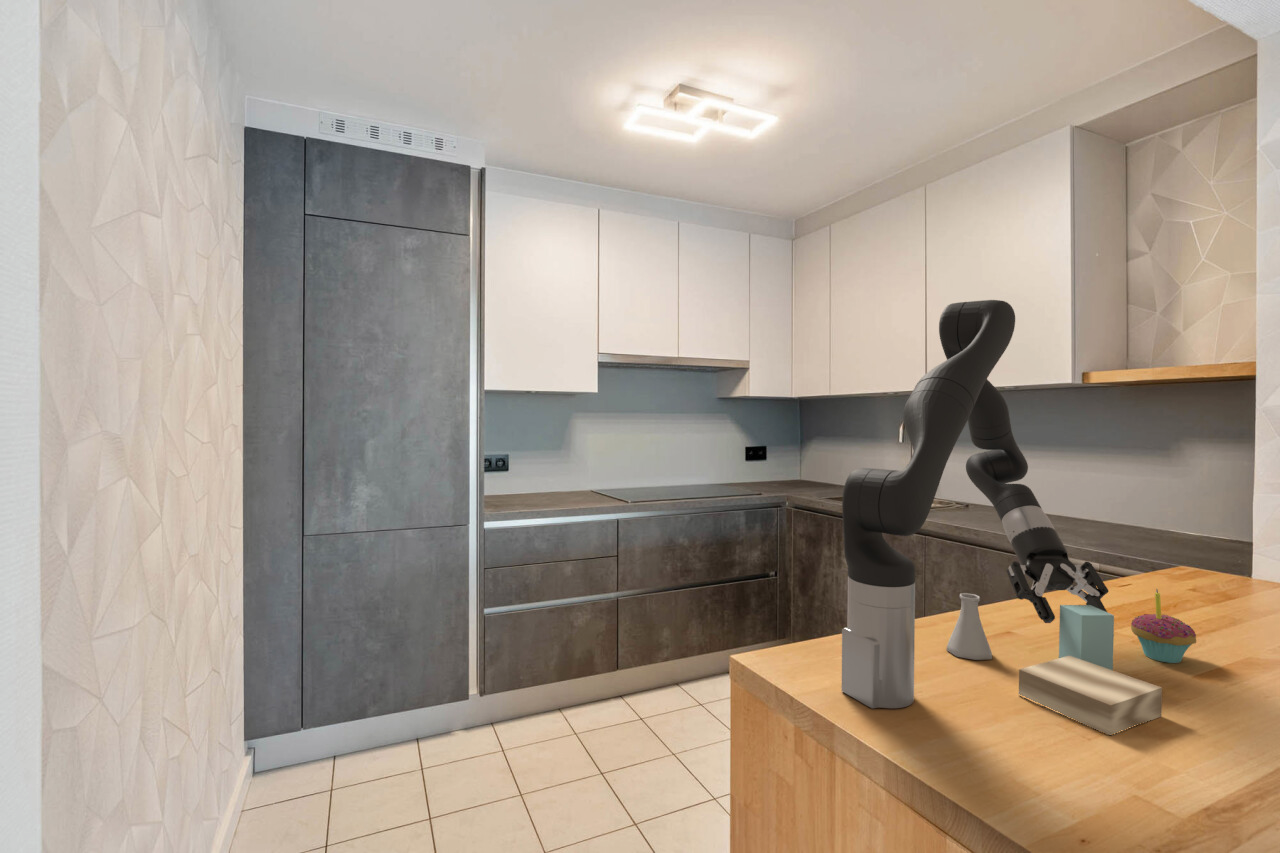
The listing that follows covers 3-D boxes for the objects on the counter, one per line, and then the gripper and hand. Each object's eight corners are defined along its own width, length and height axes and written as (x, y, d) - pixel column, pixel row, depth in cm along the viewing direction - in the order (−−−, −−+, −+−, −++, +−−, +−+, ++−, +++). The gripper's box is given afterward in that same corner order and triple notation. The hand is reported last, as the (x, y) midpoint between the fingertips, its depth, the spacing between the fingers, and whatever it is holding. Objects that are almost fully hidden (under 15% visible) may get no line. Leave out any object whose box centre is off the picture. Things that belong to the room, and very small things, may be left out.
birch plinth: (1110, 736, 78) (1110, 705, 78) (1018, 696, 89) (1019, 669, 89) (1161, 716, 84) (1162, 687, 83) (1068, 681, 94) (1069, 655, 94)
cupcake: (1180, 671, 98) (1182, 597, 98) (1119, 653, 105) (1120, 584, 105) (1205, 661, 102) (1207, 590, 101) (1144, 644, 109) (1145, 577, 109)
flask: (999, 663, 101) (1000, 603, 101) (952, 659, 103) (953, 600, 102) (984, 646, 108) (985, 590, 108) (940, 643, 110) (941, 588, 109)
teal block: (1112, 678, 95) (1114, 615, 95) (1080, 678, 95) (1081, 615, 95) (1089, 665, 100) (1090, 605, 100) (1058, 665, 100) (1059, 605, 100)
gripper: (1002, 525, 108) (1044, 610, 97) (1082, 525, 108) (1133, 610, 97) (985, 548, 114) (1022, 631, 102) (1061, 548, 114) (1107, 631, 102)
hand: (1076, 621), depth 100 cm, fingers open, 8 cm apart
